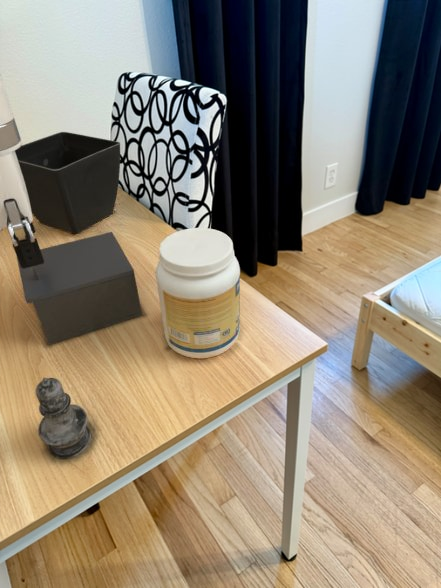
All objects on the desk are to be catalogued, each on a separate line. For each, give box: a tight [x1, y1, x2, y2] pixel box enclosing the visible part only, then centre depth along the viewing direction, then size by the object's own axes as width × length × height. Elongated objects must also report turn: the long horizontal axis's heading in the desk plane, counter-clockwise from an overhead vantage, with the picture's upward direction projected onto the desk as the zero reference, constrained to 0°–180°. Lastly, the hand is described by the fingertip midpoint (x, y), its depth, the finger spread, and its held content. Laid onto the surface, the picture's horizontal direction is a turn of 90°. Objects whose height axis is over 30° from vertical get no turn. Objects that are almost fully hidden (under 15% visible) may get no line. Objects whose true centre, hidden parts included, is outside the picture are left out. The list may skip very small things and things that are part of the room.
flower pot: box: [15, 131, 121, 235], centre depth 98 cm, size 19×19×17 cm
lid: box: [15, 231, 135, 305], centre depth 69 cm, size 16×14×5 cm
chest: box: [32, 273, 143, 346], centre depth 73 cm, size 16×14×9 cm
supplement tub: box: [155, 227, 241, 359], centre depth 65 cm, size 12×12×17 cm
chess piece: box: [34, 377, 92, 460], centre depth 51 cm, size 6×6×12 cm
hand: (29, 249), depth 66 cm, fingers open, 9 cm apart
